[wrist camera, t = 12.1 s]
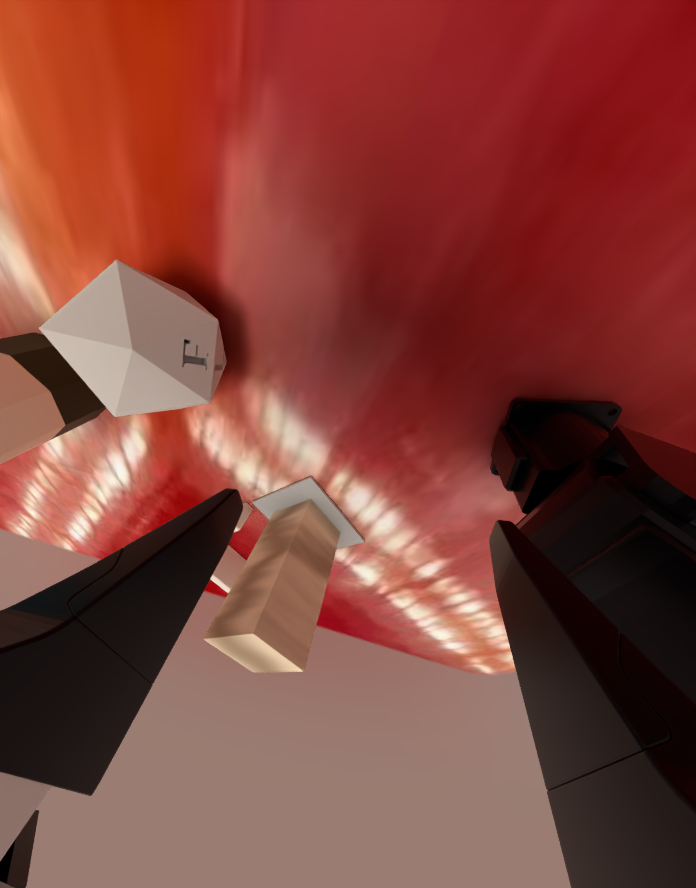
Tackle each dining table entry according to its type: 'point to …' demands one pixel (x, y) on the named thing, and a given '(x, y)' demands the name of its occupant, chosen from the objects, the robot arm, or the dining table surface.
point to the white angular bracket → (231, 559)
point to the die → (139, 342)
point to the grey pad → (314, 491)
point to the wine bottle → (39, 395)
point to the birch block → (278, 592)
